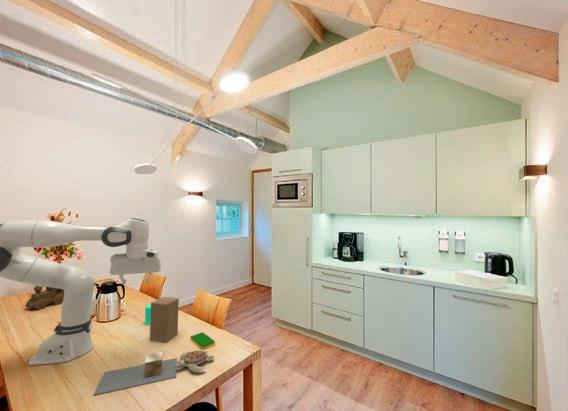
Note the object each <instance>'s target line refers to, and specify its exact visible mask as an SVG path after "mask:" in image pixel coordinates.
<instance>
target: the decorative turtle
mask: <svg viewBox="0 0 568 411" xmlns="http://www.w3.org/2000/svg"><path fill="white" fill-rule="evenodd" d="M208 352H209V350H193V351H189V350H187V351H185V352H183V353H182V354H180V356H179V359H180V361H177V363H176V365H175V368H176V369H177V370H178V369H182V368H183V367H187V368H188V369H189V370H190V371H192V372H195V373H199V372H202V371H205V370H206V369H207V368H206V366H199V365H200V364H202V363H203V362H204V361H211V360H213V359H214V358H215V356H214V355H208V354H207V353H208Z"/></svg>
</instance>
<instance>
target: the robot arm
mask: <svg viewBox="0 0 568 411" xmlns="http://www.w3.org/2000/svg"><path fill="white" fill-rule="evenodd" d="M149 236H150V226H149V223H148V222H147V221H146V220H144V219H141V218H134V217H133V218H132V217H131V218H129V219H127V220H126V221H124V222H120V223H117V224H114V225H110V226H106V227H105V226H100V227H99V226H80V225H75V224H70V223H65V222H59V221H53V220H47V219H22V220H21V219H19V220H10V221H6V222H3V223H0V278H4V279H6V280H10V281H15V282H19V283H23V284H28V285H32V286H40V287H43V288H46V287H51V288H59V289H63V290H64V298H63V302H62V303H61V304H62V305H61V312H60V322H58V323H57V325H56V326H55V327H54V329H53V334H52V335H50V336H49V337H48V338H46V339H45V340H44V341H42V343H41V344H39V346H38V348H37V351H36V353H35V354H33V355H32V356H31V357H30V359H29V360H28V366H39V365H49V364H51V365H52V364H63V363H67V362H70V361H72V360H73V359H76V358H79V357H81V356H84V355H86V354H88V353H89V352H90V351H91V350H92V349H93V348H94V343H93V341H92V335H91V334H92V333H91V331H92V325H93V324H92V318H91V317H92V316H91V314H92V313H91V312H92V311H91V310H92V302H93V301H92V300H93V297H94V290H95V287H96V286H95V285H96V280H95V277H94V276H93V274H91V273H90V272H89V271H87V270H86V269H84V268H82V267H77V266H72V265H68V264H63V263H60V262H59V263H58V262H55V261H51V260H47V259H45V258H41V257H38V256H34V255H29V254H26V253H23V252H22V251H21V248H51V247H59V246H63V245H66V244H67V245H68V244H70V243H74V242H79V241H82V242H83V241H91V242H92V241H97V242H98V241H101V242H102V244H104V245H105V246H106V247H108V248H109V247H111V248H118V247H121V246H125V248H126V250H125V253H115V254H112V255H111V256H110V259H109V260H110V261H109V262H110V268H109V269H110V270H109V274H110V275H112V276H118V277H119V279H120V281H121V285H126V284H127V279H125V278H124V276H125V275H133V274H135V275H136V274H137V275H138V274H148V277H146V278H145V280H144V282H145V283H146V284H147V283H149V282H150V278H151V277H152V275H153V273H159V272H160V271H161V270H162V269H161V268H162V265H161V258H160V257H159V251H158V250H154V249H151V248H149V243H148V242H149Z"/></svg>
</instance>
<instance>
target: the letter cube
mask: <svg viewBox="0 0 568 411" xmlns="http://www.w3.org/2000/svg"><path fill="white" fill-rule="evenodd" d="M162 361H163V351H159V352H154V353H150V354H149V353H148V354H146V357H145V362H144V364H145V374H144V378H145V377H150V376H154V375H159V374H161V369H162Z"/></svg>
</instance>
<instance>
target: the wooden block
mask: <svg viewBox="0 0 568 411" xmlns="http://www.w3.org/2000/svg"><path fill="white" fill-rule="evenodd" d="M179 299H180V298H179V297H170V296H169V297H168V296H162V297H161V298H158V299H155V300H154V301H152V302H150V305H151V320H150V325H149V327H150V328H149V341H150V342H151V341H152V342H158V343H165V344H166V343H168V342H169V341H170V340H172V338H174V337H176V336H177V335H178V333H179V331H178V329H179V328H178V327H179V303H180V301H179Z"/></svg>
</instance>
